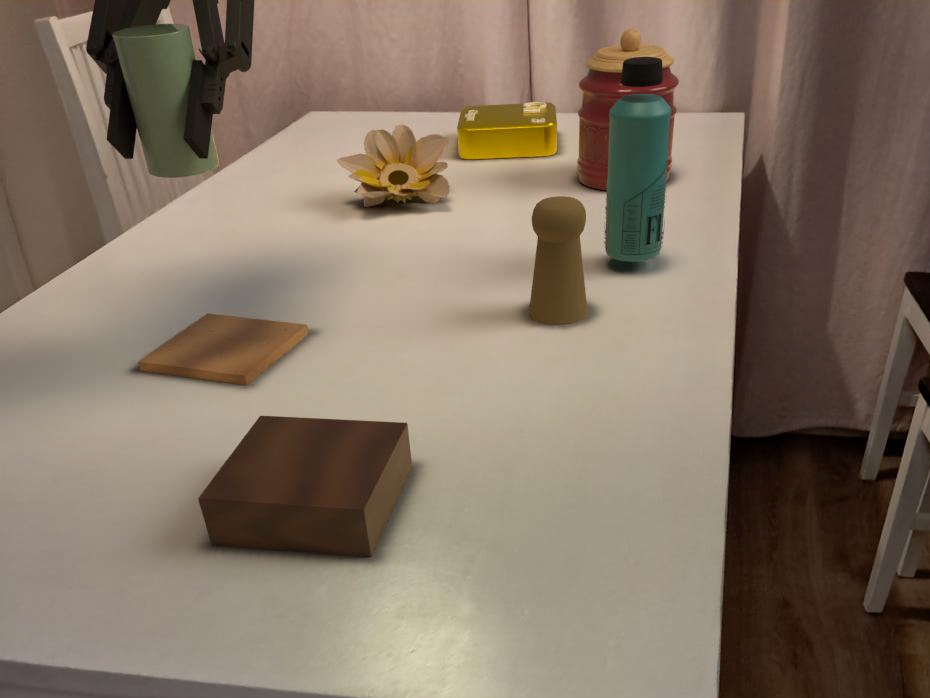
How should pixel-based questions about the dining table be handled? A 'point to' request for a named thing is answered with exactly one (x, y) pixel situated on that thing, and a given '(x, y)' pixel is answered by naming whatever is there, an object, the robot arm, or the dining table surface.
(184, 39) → the sage cup
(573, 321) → the pepper shaker
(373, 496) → the walnut block
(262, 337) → the wooden trivet
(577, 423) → the dining table surface
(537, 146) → the element tile
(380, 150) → the decorative flower
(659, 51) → the kitchen canister
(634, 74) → the beverage bottle
